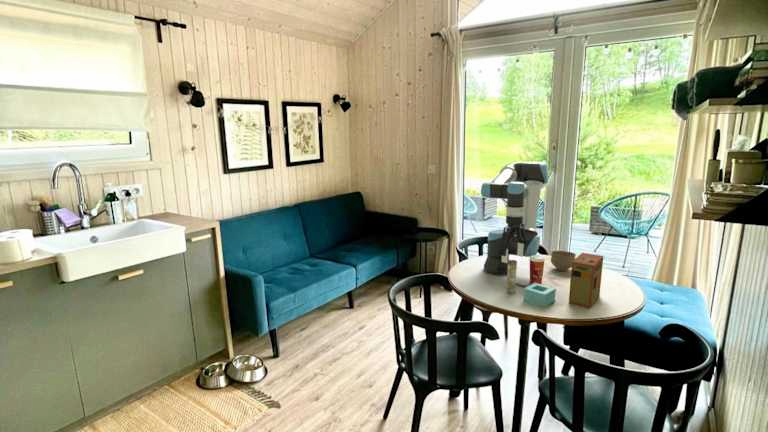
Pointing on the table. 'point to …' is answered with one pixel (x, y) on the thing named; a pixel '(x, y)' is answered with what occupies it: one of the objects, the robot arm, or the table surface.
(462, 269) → the table surface
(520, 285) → the brown wooden stick
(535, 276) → the paper cup
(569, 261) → the bowl
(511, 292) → the wooden dowel roller
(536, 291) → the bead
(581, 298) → the box
